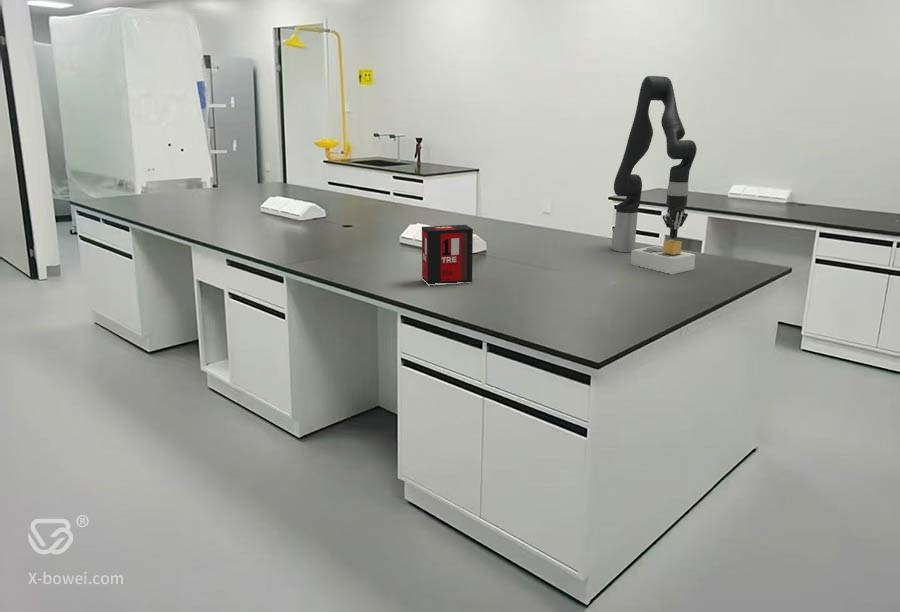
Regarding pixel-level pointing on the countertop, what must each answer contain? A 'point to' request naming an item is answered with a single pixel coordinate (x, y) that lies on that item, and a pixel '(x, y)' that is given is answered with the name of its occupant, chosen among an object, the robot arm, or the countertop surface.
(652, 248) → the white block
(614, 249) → the robot arm
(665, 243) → the tan cardboard-coloured cube
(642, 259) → the panel
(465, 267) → the cleaning product box
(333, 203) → the countertop surface
